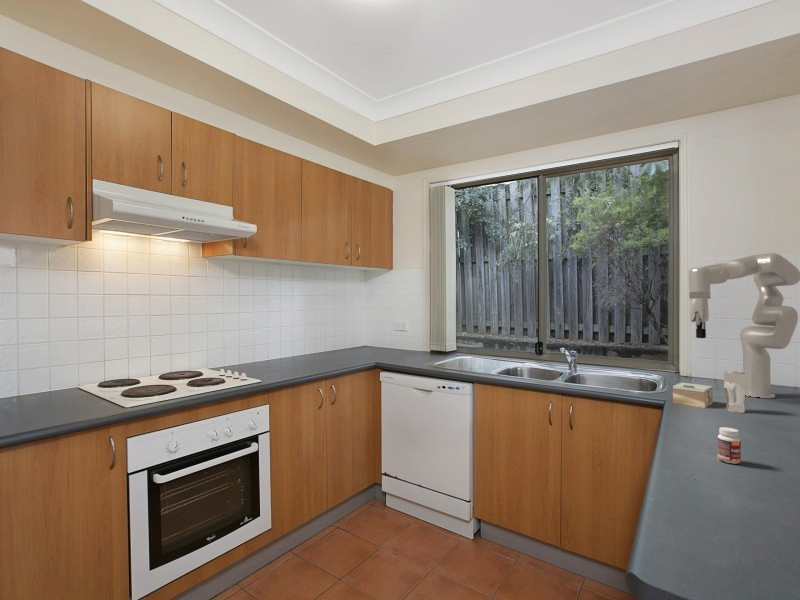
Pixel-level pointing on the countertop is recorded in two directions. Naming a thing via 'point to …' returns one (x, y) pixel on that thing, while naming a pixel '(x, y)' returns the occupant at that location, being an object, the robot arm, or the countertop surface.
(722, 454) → the pill bottle
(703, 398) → the light wooden box
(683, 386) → the box lid
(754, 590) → the countertop surface
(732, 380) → the beer glass
